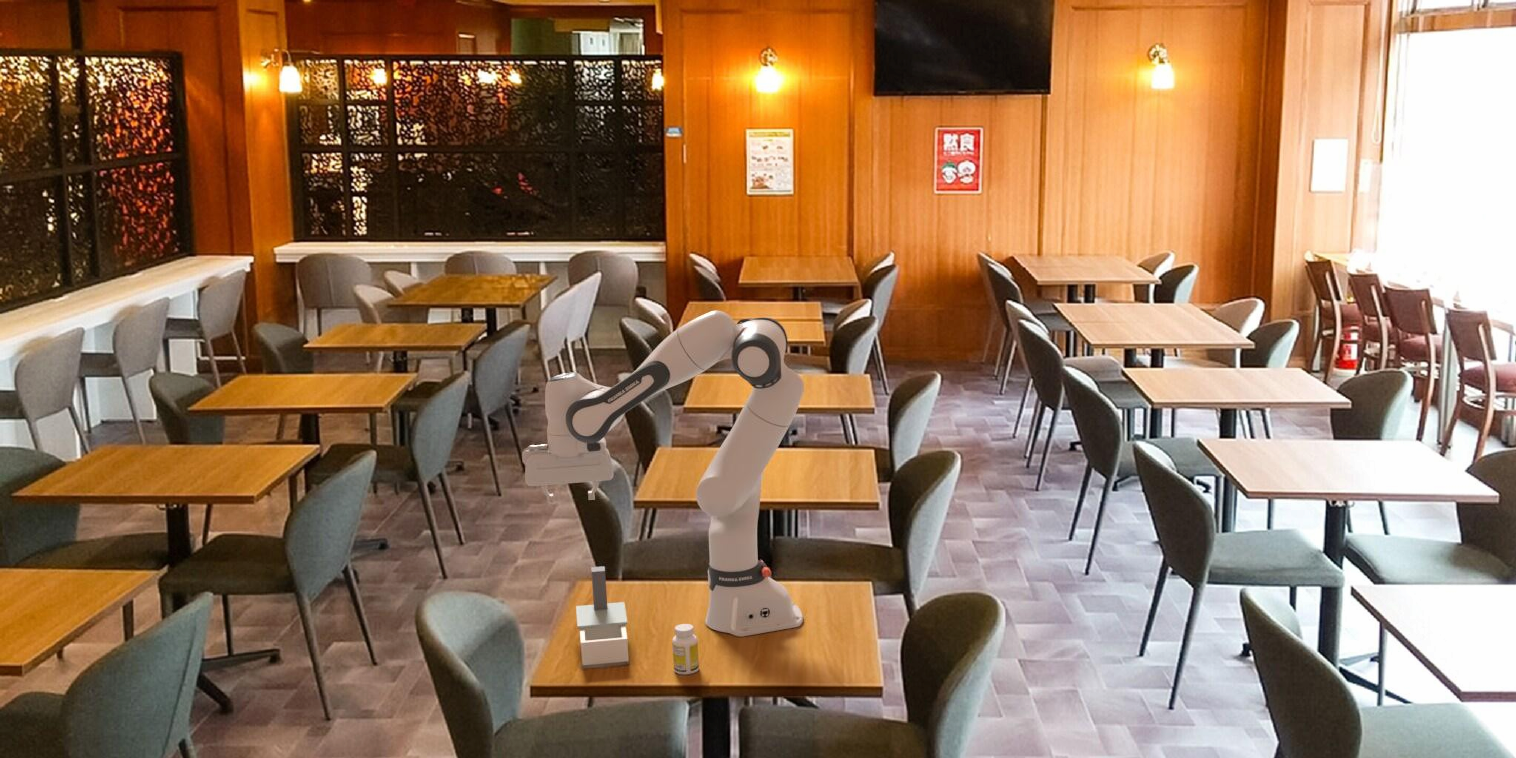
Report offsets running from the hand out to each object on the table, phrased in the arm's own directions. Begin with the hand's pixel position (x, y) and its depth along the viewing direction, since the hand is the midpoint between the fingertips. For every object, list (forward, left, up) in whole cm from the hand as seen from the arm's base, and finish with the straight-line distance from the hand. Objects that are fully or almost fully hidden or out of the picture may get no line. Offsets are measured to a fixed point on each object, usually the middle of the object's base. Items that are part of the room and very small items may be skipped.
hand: (571, 500), depth 331 cm
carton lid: (-5, +15, -23) cm, 28 cm away
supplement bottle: (-22, +34, -29) cm, 50 cm away
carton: (-5, +23, -29) cm, 37 cm away
